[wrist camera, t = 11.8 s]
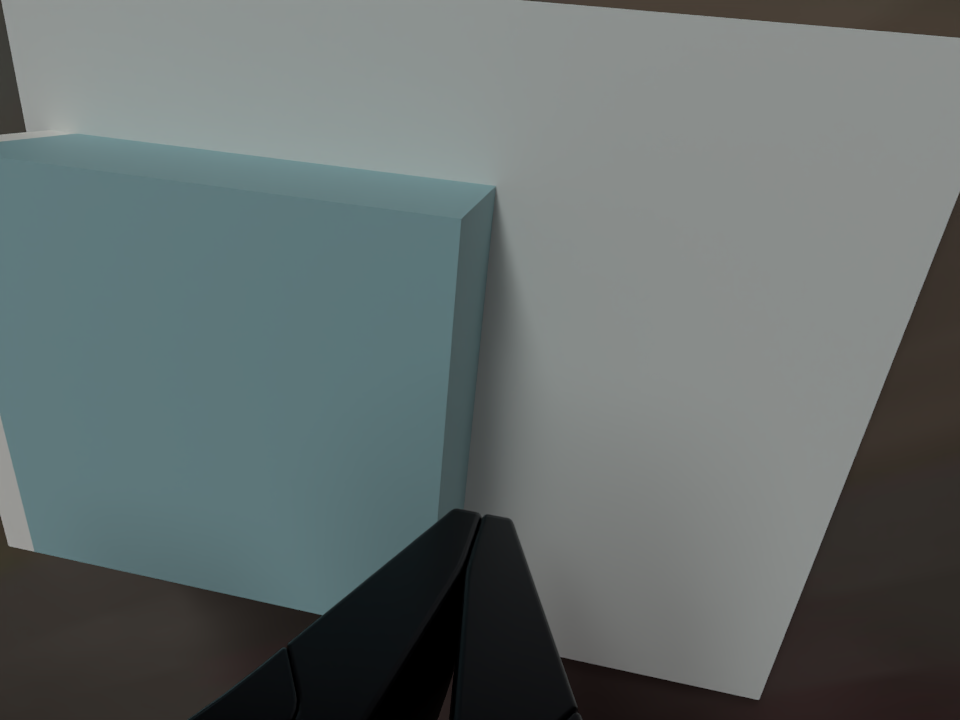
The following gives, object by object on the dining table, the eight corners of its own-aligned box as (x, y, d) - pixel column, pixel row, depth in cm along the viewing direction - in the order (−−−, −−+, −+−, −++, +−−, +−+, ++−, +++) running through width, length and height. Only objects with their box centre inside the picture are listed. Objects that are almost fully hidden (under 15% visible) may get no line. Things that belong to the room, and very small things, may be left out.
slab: (461, 218, 9) (-101, 143, 10) (428, 638, 12) (8, 546, 13) (496, 185, 12) (50, 129, 13) (461, 536, 15) (109, 467, 16)
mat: (996, 44, 10) (1018, 43, 9) (754, 678, 16) (758, 700, 15) (20, -40, 12) (-8, -46, 12) (123, 543, 18) (108, 558, 17)
